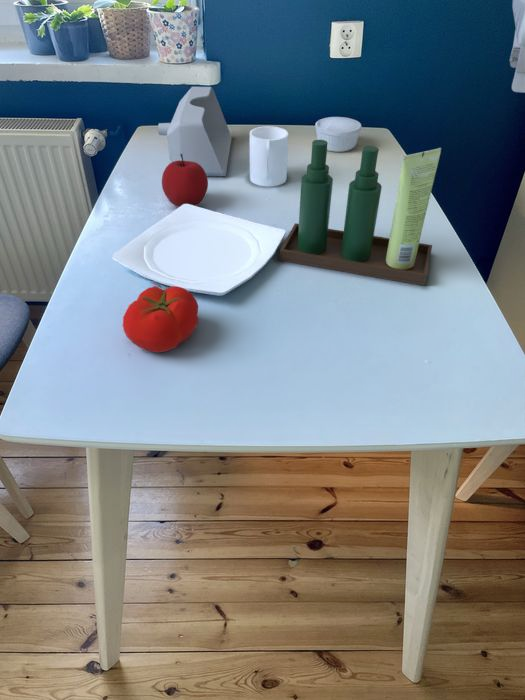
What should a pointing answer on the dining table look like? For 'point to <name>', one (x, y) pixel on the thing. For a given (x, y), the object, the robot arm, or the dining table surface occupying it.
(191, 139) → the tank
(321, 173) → the bottle
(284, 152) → the cup
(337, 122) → the ramekin
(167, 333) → the tomato
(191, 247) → the plate
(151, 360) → the dining table surface
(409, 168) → the tube
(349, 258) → the bottle
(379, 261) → the tray
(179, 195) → the apple
